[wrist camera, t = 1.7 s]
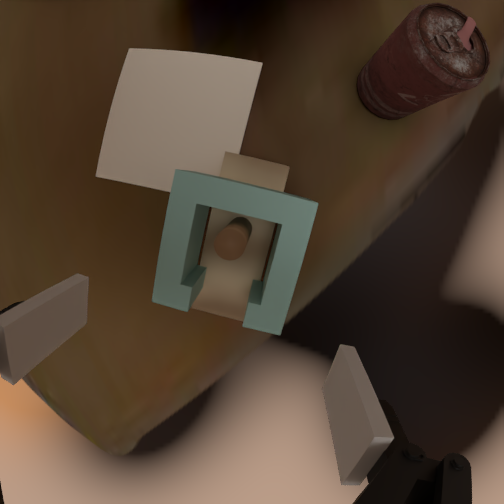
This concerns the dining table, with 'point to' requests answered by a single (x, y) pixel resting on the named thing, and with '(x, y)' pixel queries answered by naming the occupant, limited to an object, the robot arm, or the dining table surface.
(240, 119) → the felt mat
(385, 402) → the robot arm
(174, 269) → the c link
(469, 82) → the can
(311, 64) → the dining table surface
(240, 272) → the hook stand
